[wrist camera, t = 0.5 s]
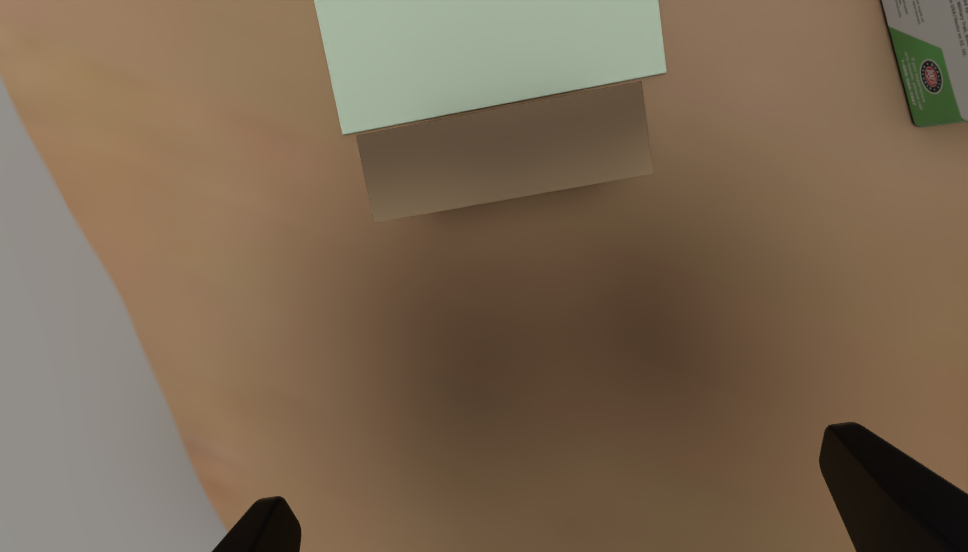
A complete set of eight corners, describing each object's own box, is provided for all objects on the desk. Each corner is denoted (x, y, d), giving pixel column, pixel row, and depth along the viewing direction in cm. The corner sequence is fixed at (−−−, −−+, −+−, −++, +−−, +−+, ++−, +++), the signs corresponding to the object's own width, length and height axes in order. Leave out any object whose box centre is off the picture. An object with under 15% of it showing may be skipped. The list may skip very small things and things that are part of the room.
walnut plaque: (604, 175, 24) (652, 173, 15) (426, 207, 25) (374, 222, 16) (596, 117, 24) (641, 81, 15) (415, 151, 24) (356, 135, 16)
